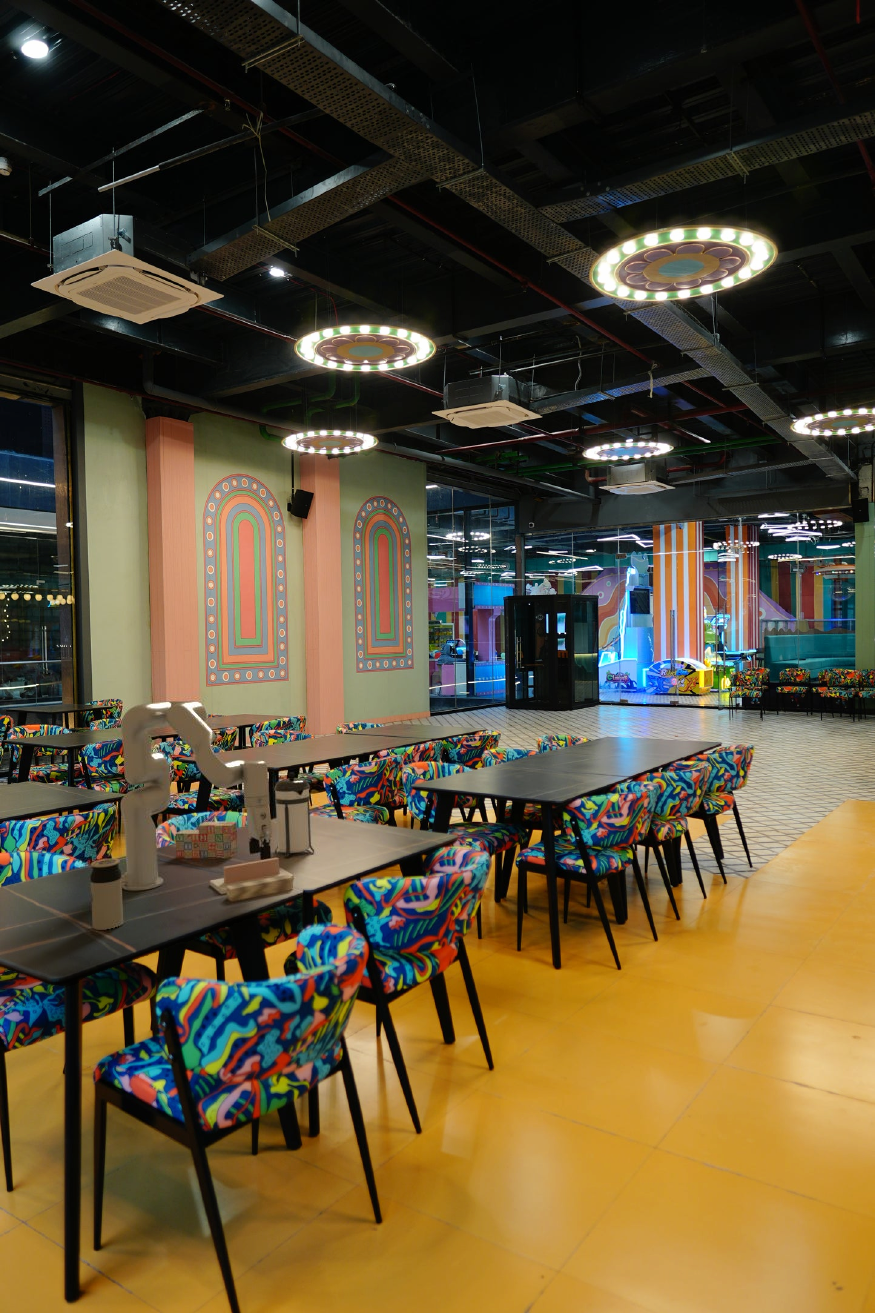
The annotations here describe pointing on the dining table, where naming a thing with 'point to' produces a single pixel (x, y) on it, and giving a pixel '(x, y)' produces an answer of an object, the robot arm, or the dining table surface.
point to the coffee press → (293, 815)
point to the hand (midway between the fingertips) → (260, 856)
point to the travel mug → (106, 894)
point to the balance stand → (248, 873)
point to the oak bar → (259, 887)
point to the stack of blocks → (208, 841)
